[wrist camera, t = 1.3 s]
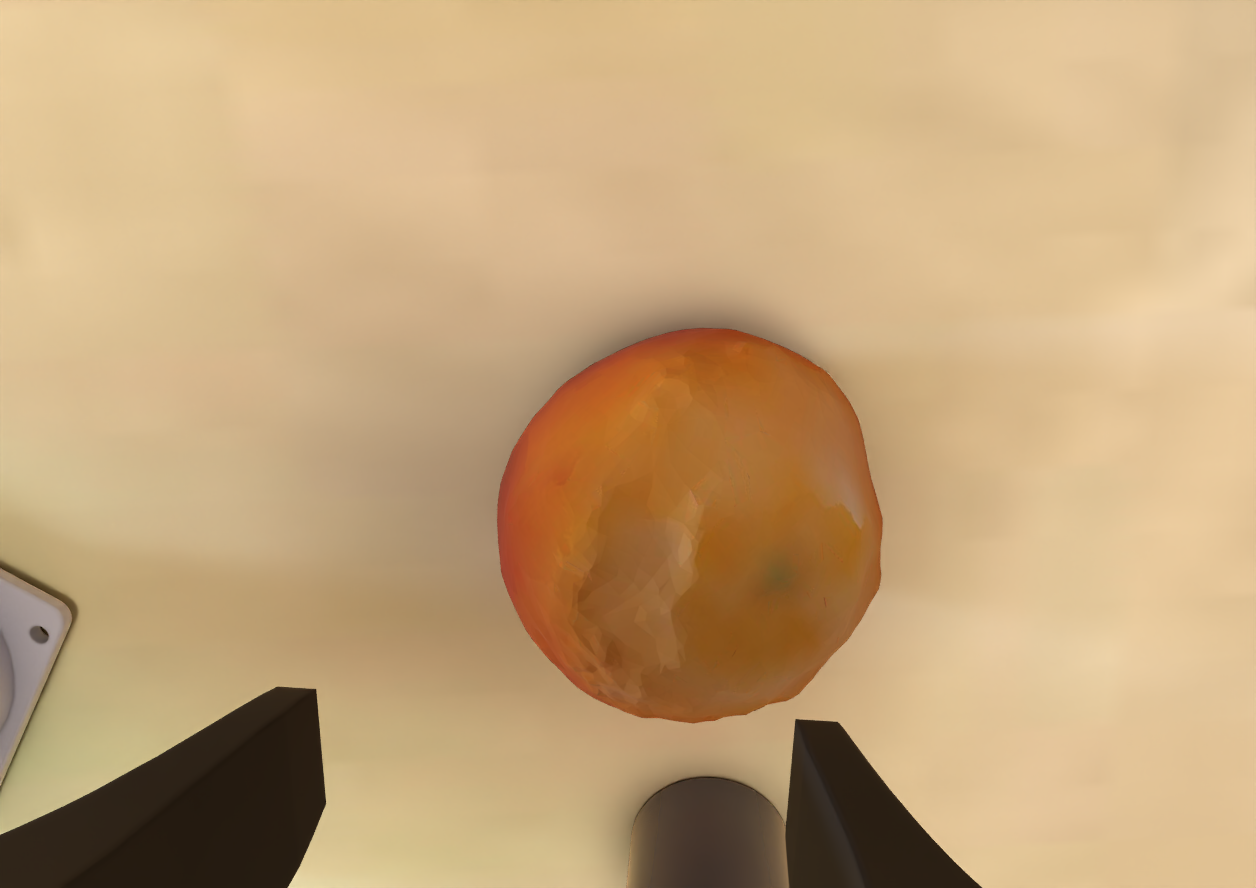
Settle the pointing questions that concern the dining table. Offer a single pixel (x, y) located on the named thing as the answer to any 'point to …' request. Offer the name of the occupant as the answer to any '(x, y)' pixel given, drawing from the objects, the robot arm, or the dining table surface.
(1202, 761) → the dining table surface
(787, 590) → the fruit
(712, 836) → the salt shaker
